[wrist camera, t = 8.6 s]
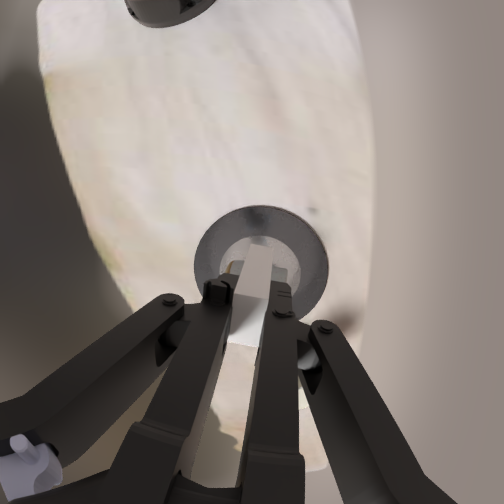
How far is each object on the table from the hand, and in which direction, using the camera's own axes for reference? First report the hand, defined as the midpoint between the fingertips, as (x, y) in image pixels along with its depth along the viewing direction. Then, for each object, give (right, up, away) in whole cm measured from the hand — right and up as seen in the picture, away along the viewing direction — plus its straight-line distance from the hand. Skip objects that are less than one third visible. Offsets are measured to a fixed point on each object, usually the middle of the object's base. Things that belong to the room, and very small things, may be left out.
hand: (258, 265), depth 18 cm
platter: (+1, -2, +22) cm, 23 cm away
